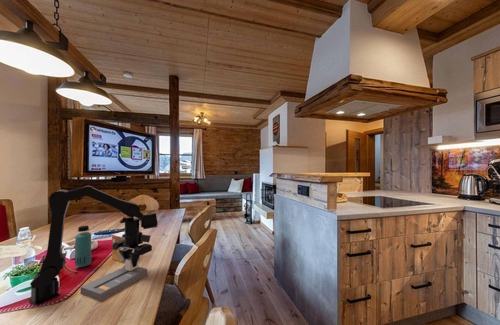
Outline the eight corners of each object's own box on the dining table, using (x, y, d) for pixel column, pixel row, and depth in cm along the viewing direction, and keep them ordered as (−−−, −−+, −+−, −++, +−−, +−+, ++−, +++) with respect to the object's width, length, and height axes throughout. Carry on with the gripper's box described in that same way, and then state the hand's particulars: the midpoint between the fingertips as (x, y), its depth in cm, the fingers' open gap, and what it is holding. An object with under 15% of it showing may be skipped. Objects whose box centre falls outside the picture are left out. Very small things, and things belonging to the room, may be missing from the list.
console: (100, 301, 75) (100, 293, 75) (80, 293, 80) (80, 286, 80) (147, 274, 93) (147, 268, 93) (129, 269, 98) (129, 264, 98)
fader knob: (130, 273, 90) (130, 260, 91) (125, 272, 92) (125, 259, 92) (138, 269, 94) (138, 256, 94) (133, 268, 95) (133, 255, 96)
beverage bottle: (89, 263, 105) (89, 223, 106) (93, 266, 101) (93, 225, 102) (72, 267, 100) (73, 226, 101) (76, 272, 96) (76, 228, 97)
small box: (111, 259, 110) (111, 234, 110) (123, 254, 115) (123, 231, 115) (120, 262, 106) (120, 236, 106) (132, 257, 111) (132, 233, 111)
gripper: (161, 228, 97) (161, 262, 97) (134, 224, 104) (133, 255, 104) (140, 235, 87) (140, 273, 86) (111, 230, 94) (111, 265, 94)
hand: (132, 266), depth 93 cm, fingers closed on fader knob, 3 cm apart
